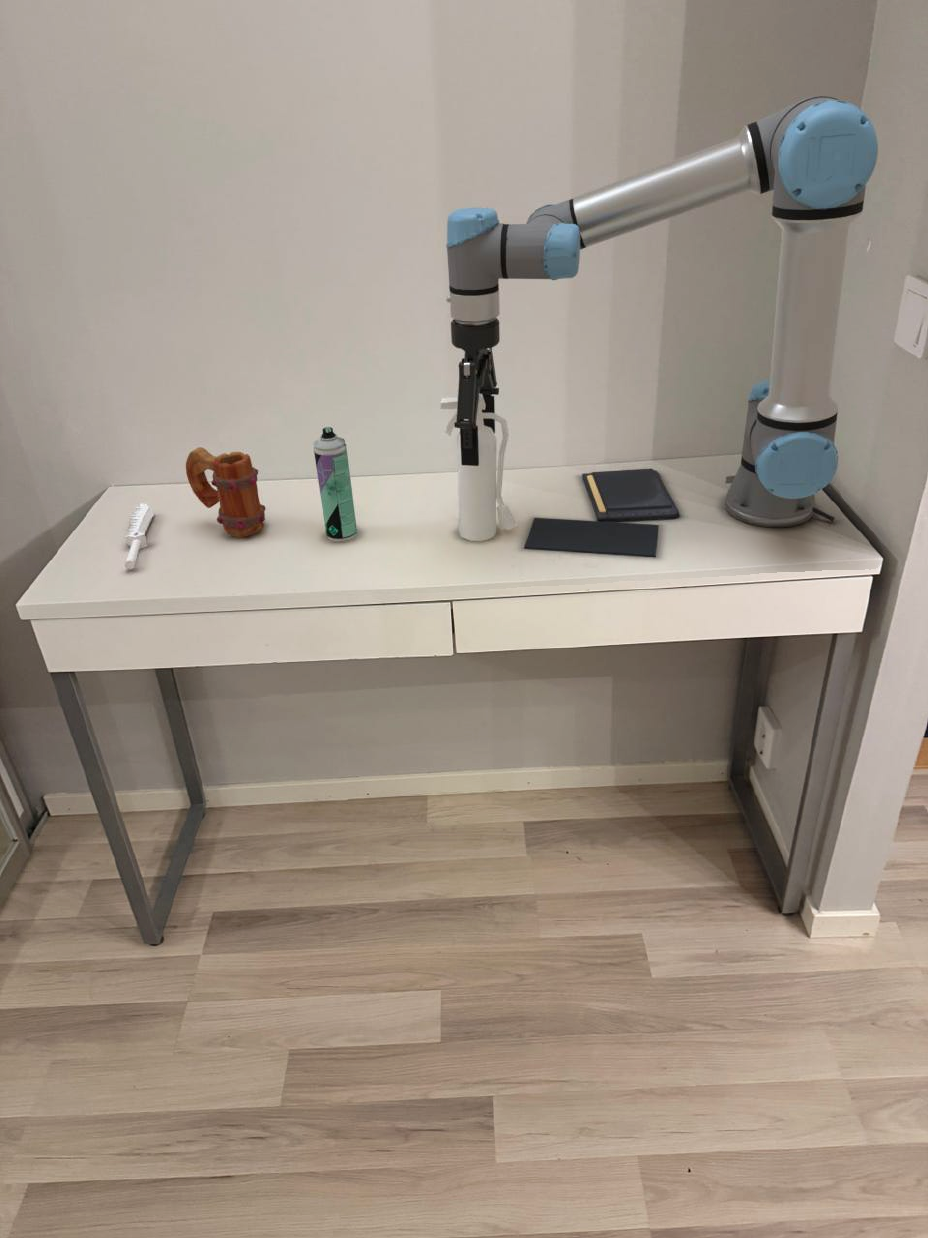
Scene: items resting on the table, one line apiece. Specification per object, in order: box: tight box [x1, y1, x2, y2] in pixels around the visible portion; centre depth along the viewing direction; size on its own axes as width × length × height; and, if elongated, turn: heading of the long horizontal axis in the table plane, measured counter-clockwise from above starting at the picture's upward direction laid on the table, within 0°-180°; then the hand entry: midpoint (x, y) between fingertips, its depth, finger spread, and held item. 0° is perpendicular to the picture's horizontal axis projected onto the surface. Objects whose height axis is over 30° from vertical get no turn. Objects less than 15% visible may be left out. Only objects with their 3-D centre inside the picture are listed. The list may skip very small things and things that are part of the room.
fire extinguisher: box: [440, 394, 518, 542], centre depth 152 cm, size 7×12×25 cm, turn 84°
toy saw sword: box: [124, 503, 155, 570], centre depth 162 cm, size 3×4×22 cm
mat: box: [523, 517, 660, 558], centre depth 156 cm, size 22×11×1 cm, turn 77°
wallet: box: [581, 468, 681, 522], centre depth 168 cm, size 20×2×15 cm
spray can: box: [313, 426, 358, 543], centre depth 155 cm, size 6×6×20 cm
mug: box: [185, 446, 266, 538], centre depth 161 cm, size 15×8×15 cm, turn 65°
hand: (478, 448), depth 150 cm, fingers open, 13 cm apart
